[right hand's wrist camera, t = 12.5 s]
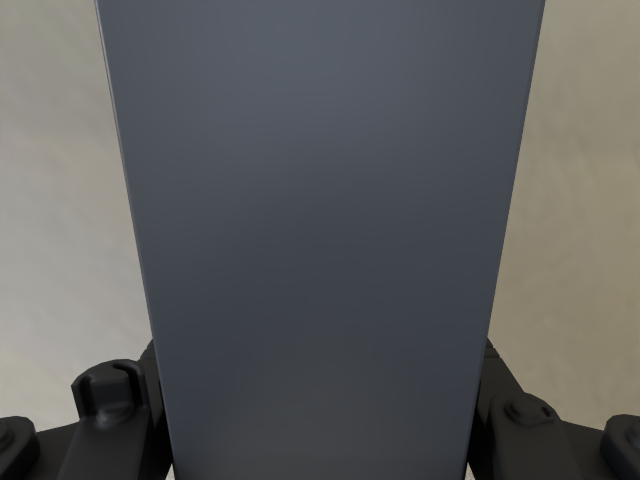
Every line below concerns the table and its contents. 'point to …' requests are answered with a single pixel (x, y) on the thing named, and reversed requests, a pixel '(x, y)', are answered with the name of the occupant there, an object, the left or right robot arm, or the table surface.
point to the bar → (319, 221)
